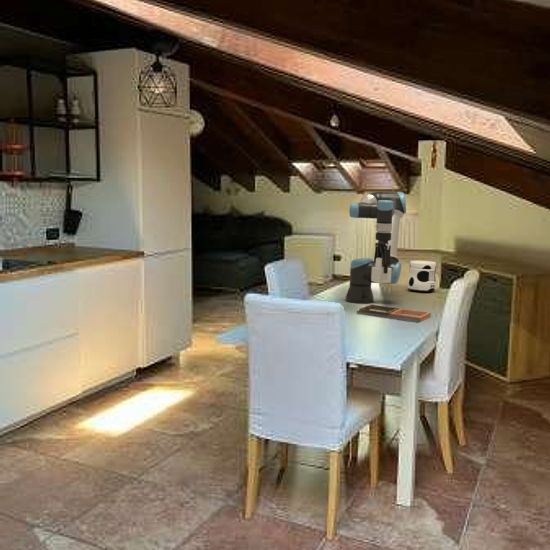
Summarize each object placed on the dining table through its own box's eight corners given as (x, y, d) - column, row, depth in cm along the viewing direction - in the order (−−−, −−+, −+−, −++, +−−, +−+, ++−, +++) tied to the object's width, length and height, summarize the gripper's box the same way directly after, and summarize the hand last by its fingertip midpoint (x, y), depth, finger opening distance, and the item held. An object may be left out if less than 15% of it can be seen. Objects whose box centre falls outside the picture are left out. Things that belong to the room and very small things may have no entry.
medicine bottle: (383, 280, 303) (384, 256, 301) (391, 282, 296) (392, 258, 294) (370, 281, 300) (372, 257, 299) (378, 283, 294) (379, 258, 292)
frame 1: (371, 308, 311) (371, 304, 310) (399, 312, 303) (399, 308, 302) (358, 312, 298) (359, 308, 298) (387, 317, 290) (387, 312, 290)
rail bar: (358, 313, 298) (358, 310, 297) (419, 321, 281) (420, 319, 281) (356, 313, 296) (356, 311, 296) (418, 322, 280) (418, 320, 279)
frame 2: (401, 312, 302) (401, 308, 302) (430, 316, 294) (430, 312, 294) (389, 317, 290) (389, 313, 289) (420, 321, 282) (420, 317, 281)
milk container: (407, 288, 381) (408, 259, 379) (435, 290, 377) (437, 261, 374) (405, 292, 364) (407, 262, 362) (435, 294, 360) (437, 264, 358)
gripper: (368, 230, 304) (366, 275, 307) (384, 233, 284) (382, 281, 287) (382, 230, 305) (380, 275, 309) (399, 233, 286) (396, 281, 289)
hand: (381, 278), depth 298 cm, fingers closed on medicine bottle, 8 cm apart
